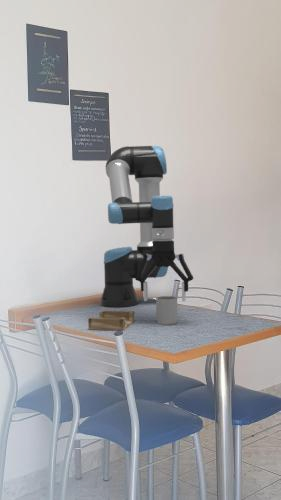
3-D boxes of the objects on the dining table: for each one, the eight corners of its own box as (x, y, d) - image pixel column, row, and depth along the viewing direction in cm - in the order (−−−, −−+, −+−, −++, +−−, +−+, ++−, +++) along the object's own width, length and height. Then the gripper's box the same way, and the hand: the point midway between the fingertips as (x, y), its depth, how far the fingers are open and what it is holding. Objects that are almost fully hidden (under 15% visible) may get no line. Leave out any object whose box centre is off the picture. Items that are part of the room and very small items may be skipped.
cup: (163, 326, 221) (162, 300, 221) (149, 321, 230) (148, 296, 229) (181, 323, 225) (180, 298, 224) (166, 319, 233) (166, 294, 233)
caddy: (102, 321, 233) (102, 310, 232) (134, 321, 230) (134, 311, 229) (88, 329, 218) (88, 318, 218) (122, 330, 215) (122, 319, 215)
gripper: (125, 241, 224) (127, 302, 226) (196, 240, 218) (198, 302, 220) (131, 240, 232) (133, 298, 233) (200, 238, 225) (201, 299, 227)
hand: (164, 300), depth 226 cm, fingers open, 13 cm apart
